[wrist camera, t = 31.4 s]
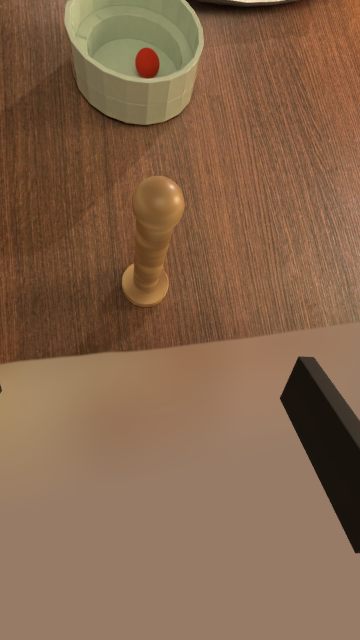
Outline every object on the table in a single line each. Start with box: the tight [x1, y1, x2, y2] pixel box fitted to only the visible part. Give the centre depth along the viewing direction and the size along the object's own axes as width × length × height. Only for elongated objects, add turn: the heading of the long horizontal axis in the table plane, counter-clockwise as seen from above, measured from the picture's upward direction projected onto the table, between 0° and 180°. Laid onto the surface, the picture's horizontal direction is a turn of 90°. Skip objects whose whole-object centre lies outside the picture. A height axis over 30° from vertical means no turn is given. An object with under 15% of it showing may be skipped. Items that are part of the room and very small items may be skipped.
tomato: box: [135, 47, 160, 79], centre depth 38 cm, size 3×3×3 cm
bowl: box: [64, 0, 204, 125], centre depth 36 cm, size 15×15×6 cm
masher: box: [122, 176, 184, 307], centre depth 25 cm, size 5×5×17 cm
